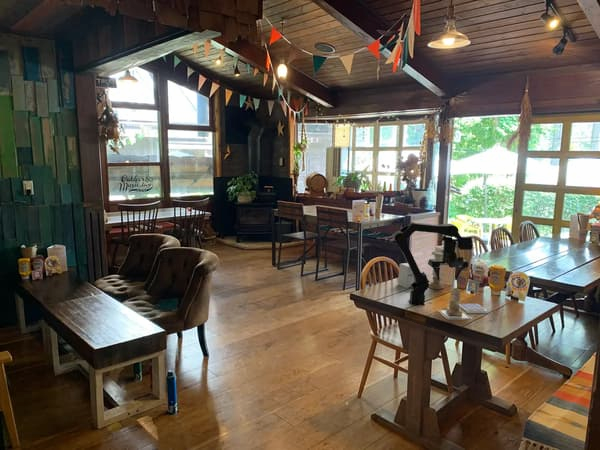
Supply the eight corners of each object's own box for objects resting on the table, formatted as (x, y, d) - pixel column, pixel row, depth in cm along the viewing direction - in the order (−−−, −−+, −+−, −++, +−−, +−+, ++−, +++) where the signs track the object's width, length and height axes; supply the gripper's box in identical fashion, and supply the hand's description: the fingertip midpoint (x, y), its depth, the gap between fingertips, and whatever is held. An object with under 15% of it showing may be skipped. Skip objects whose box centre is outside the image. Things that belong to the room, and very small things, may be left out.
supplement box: (406, 288, 247) (407, 266, 245) (397, 284, 254) (399, 263, 252) (416, 286, 251) (417, 265, 249) (407, 283, 257) (409, 262, 255)
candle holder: (425, 285, 255) (428, 250, 251) (440, 284, 256) (442, 250, 252) (431, 289, 246) (434, 254, 243) (446, 289, 247) (449, 254, 244)
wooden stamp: (448, 315, 206) (451, 289, 204) (446, 311, 212) (448, 286, 210) (462, 316, 205) (464, 290, 203) (458, 312, 211) (461, 286, 209)
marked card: (447, 319, 202) (447, 318, 202) (437, 310, 214) (437, 309, 214) (472, 319, 203) (472, 318, 203) (460, 310, 215) (460, 309, 215)
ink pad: (467, 313, 210) (467, 310, 210) (458, 306, 220) (458, 303, 220) (487, 313, 211) (487, 310, 211) (477, 306, 221) (477, 303, 221)
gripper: (437, 253, 208) (435, 284, 211) (475, 253, 210) (472, 284, 213) (428, 248, 219) (426, 278, 222) (464, 248, 221) (462, 278, 223)
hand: (446, 279), depth 220 cm, fingers open, 9 cm apart
